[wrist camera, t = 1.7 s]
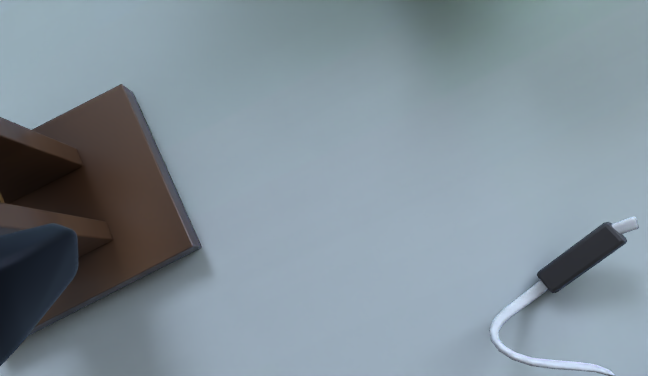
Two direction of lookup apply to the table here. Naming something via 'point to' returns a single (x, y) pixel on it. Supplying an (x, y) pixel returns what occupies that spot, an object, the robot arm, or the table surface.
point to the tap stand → (95, 195)
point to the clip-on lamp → (557, 278)
